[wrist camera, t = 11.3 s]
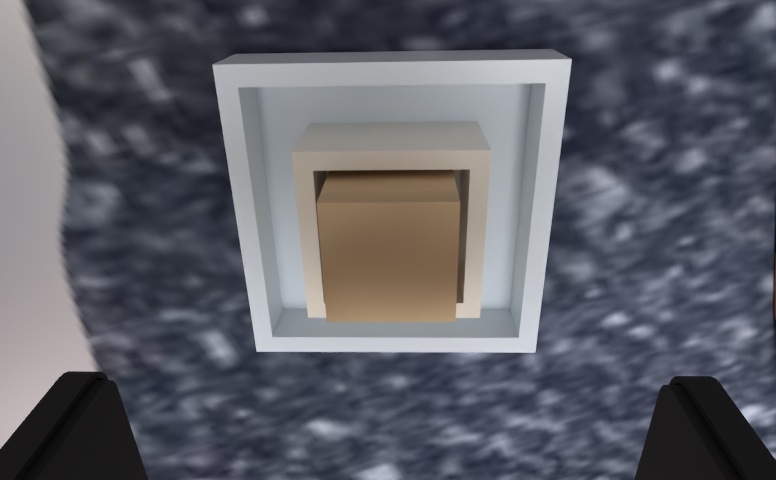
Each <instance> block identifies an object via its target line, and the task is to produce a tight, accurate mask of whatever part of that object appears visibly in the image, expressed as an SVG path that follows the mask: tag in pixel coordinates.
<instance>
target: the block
mask: <svg viewBox="0 0 776 480" xmlns="http://www.w3.org/2000/svg"><path fill="white" fill-rule="evenodd" d="M317 214H318V226H319V237H320V249H321V261H322V272H323V284H324V295H325V307H326V319H327V322H456V299H457V273H458V248H459V223H460V199H459V194H458V190H457V186H456V182H455V178H454V173H453V170H329V173H328V175H327V178H326V180H325V183H324V185H323V188H322V191H321V193H320V196H319V198H318V201H317Z"/></svg>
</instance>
